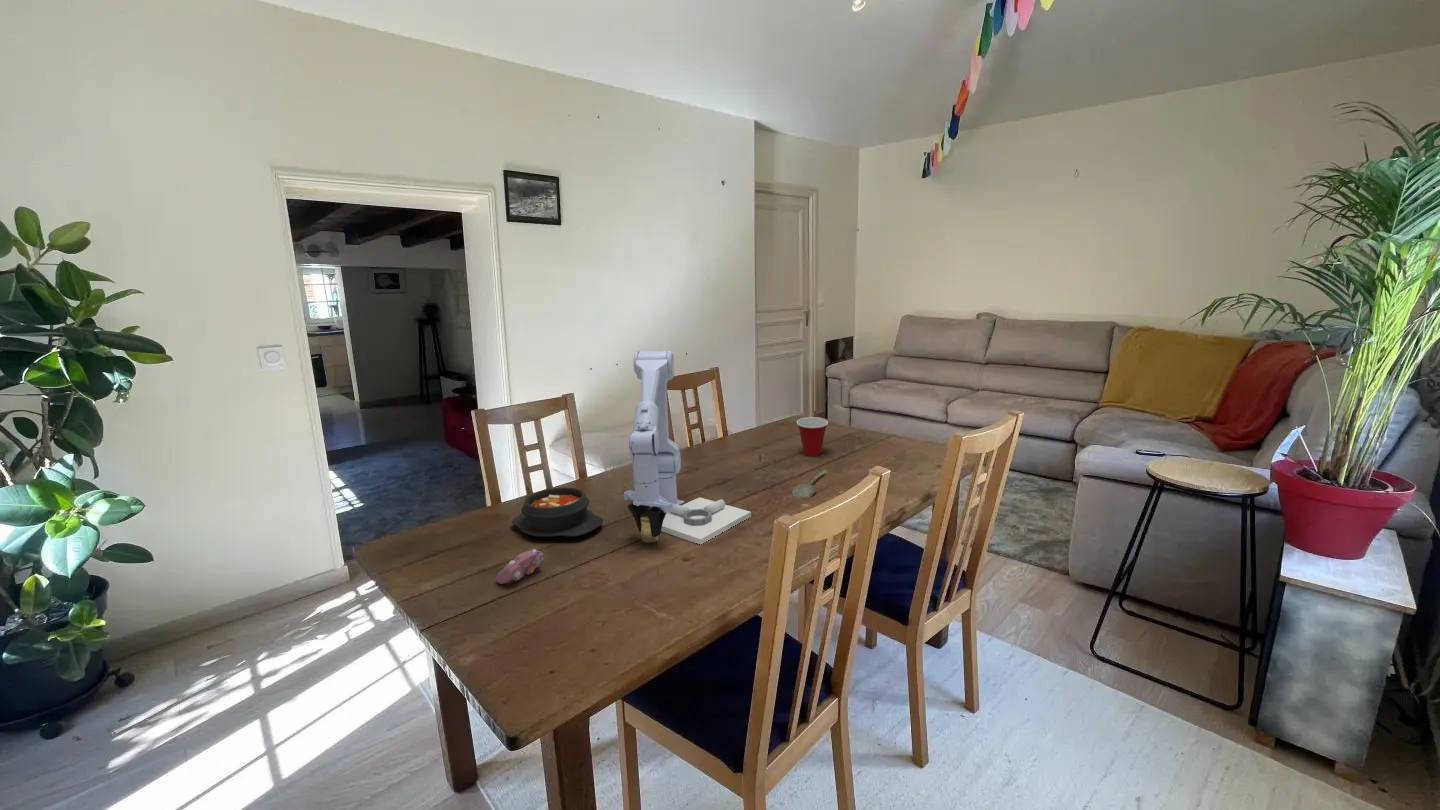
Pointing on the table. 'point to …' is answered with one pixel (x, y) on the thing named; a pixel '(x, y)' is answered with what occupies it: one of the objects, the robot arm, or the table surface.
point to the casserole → (557, 514)
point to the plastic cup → (812, 434)
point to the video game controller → (520, 566)
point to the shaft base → (705, 530)
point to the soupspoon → (806, 488)
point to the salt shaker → (646, 529)
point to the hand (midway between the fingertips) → (649, 533)
